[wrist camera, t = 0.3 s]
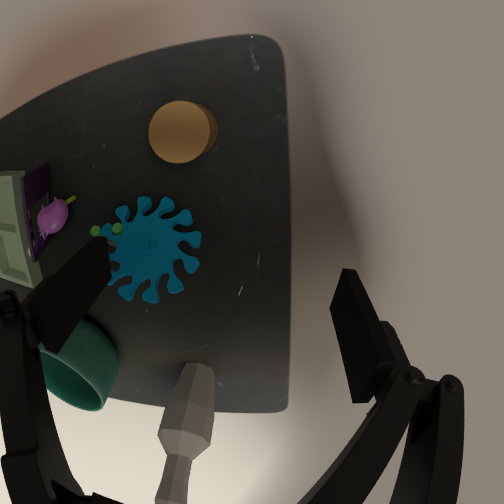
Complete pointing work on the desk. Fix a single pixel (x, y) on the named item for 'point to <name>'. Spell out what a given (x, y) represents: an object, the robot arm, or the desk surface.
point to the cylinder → (182, 131)
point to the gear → (149, 247)
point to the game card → (49, 216)
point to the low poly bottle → (185, 429)
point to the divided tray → (15, 234)
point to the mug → (81, 368)
